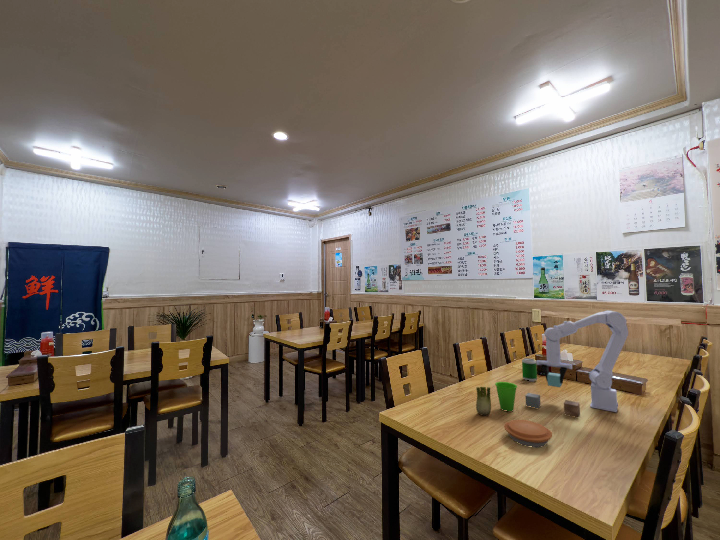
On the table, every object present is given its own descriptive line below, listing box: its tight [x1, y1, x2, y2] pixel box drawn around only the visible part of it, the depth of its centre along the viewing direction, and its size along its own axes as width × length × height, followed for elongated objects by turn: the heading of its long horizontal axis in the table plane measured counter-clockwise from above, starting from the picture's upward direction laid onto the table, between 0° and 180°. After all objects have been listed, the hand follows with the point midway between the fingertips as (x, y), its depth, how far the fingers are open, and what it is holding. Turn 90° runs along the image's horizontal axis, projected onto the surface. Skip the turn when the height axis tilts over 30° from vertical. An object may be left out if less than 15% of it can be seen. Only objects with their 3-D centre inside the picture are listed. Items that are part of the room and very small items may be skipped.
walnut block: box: [563, 399, 581, 418], centre depth 134 cm, size 5×5×5 cm
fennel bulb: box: [475, 386, 492, 416], centre depth 135 cm, size 6×5×12 cm
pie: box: [503, 419, 553, 448], centre depth 113 cm, size 16×16×5 cm
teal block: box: [546, 372, 563, 388], centre depth 149 cm, size 5×5×5 cm
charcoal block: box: [524, 392, 541, 409], centre depth 144 cm, size 5×5×5 cm
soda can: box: [521, 357, 538, 382], centre depth 184 cm, size 8×8×12 cm
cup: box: [494, 381, 518, 412], centre depth 141 cm, size 9×9×11 cm
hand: (554, 382), depth 149 cm, fingers closed on teal block, 5 cm apart
